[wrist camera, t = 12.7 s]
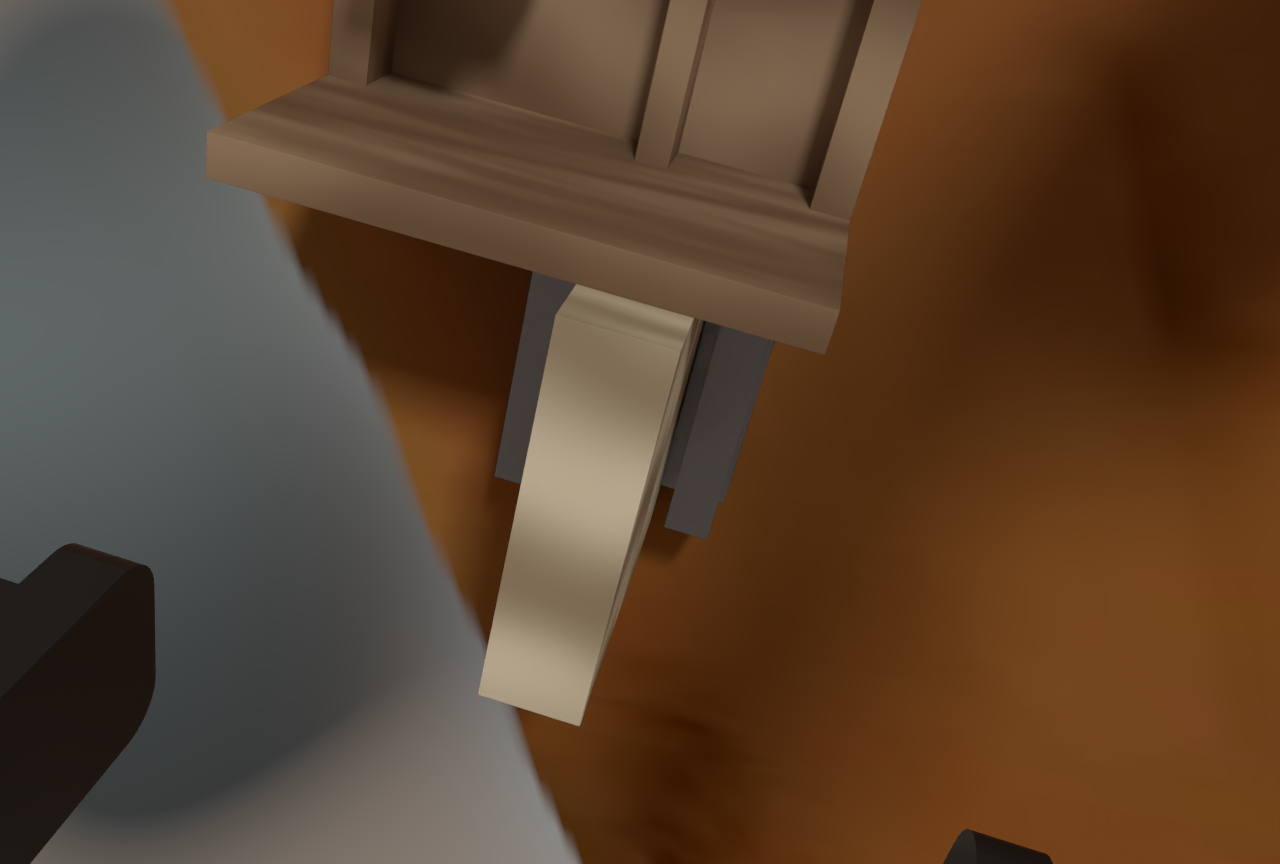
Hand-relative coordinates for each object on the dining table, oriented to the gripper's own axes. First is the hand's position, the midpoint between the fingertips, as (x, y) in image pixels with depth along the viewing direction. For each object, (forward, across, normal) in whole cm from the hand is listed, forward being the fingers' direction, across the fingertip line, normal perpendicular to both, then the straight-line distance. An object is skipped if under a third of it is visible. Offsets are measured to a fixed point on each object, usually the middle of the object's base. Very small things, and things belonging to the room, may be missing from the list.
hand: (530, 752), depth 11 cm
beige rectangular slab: (+27, +2, +10) cm, 29 cm away
